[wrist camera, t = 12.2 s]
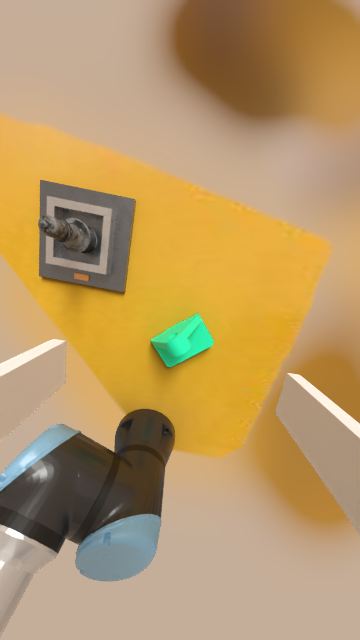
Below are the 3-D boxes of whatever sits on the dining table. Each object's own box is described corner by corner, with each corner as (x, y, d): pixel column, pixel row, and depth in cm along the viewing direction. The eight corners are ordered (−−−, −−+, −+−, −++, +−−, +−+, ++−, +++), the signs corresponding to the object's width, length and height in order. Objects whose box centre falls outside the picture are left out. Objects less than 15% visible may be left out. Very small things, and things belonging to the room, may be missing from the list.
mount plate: (125, 291, 40) (119, 293, 37) (42, 276, 40) (29, 276, 36) (135, 201, 36) (130, 193, 33) (44, 182, 36) (29, 172, 32)
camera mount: (169, 363, 44) (165, 388, 34) (152, 337, 43) (143, 355, 33) (213, 340, 43) (222, 359, 33) (197, 312, 41) (202, 323, 31)
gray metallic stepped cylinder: (71, 254, 38) (22, 244, 26) (68, 223, 36) (14, 198, 25) (100, 255, 38) (63, 245, 26) (97, 223, 36) (57, 198, 25)
